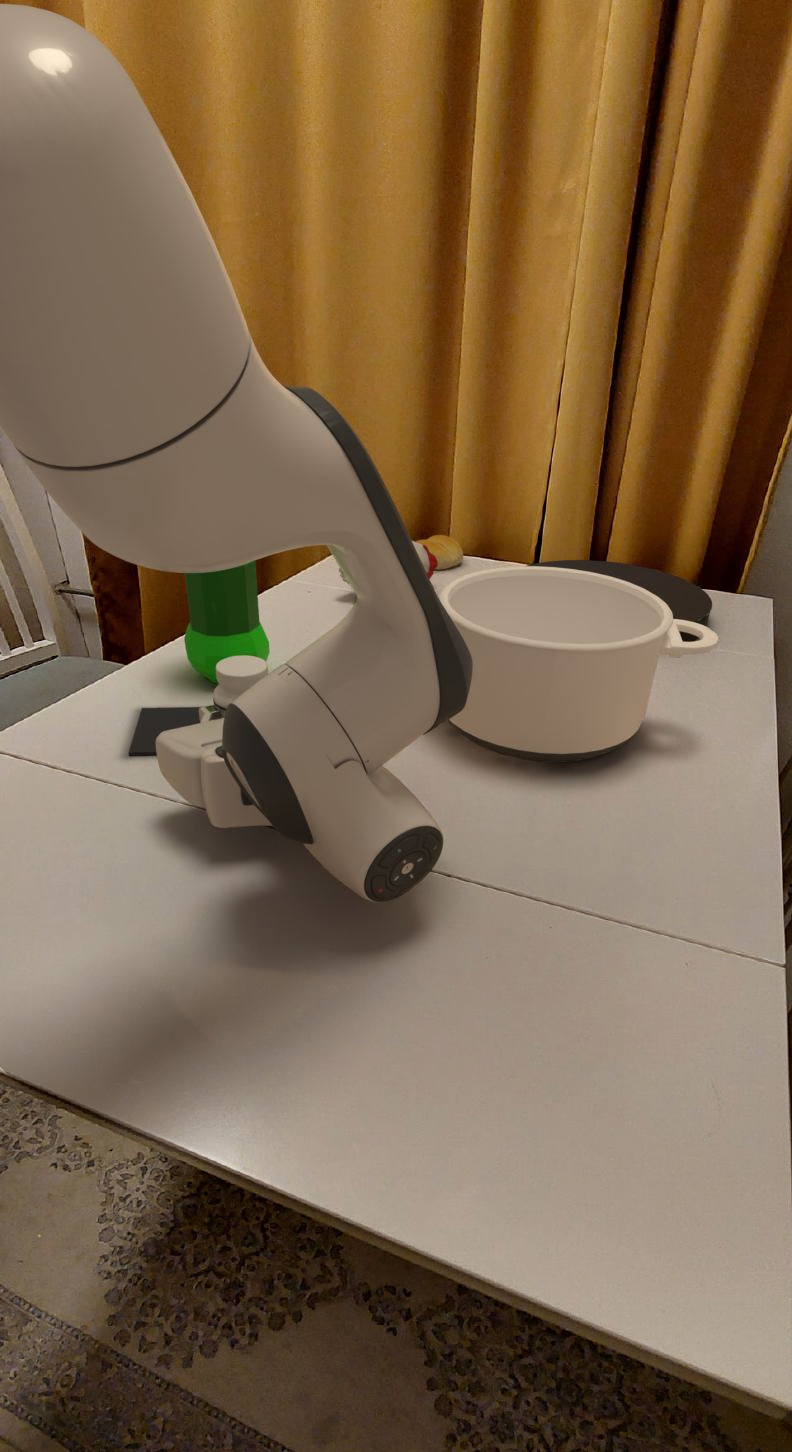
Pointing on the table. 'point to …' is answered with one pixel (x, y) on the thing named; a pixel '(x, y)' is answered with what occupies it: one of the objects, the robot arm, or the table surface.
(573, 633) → the pot
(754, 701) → the table surface
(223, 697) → the pill bottle
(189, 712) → the slate mat
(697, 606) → the disc
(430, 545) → the bread roll
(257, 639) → the plastic bottle
